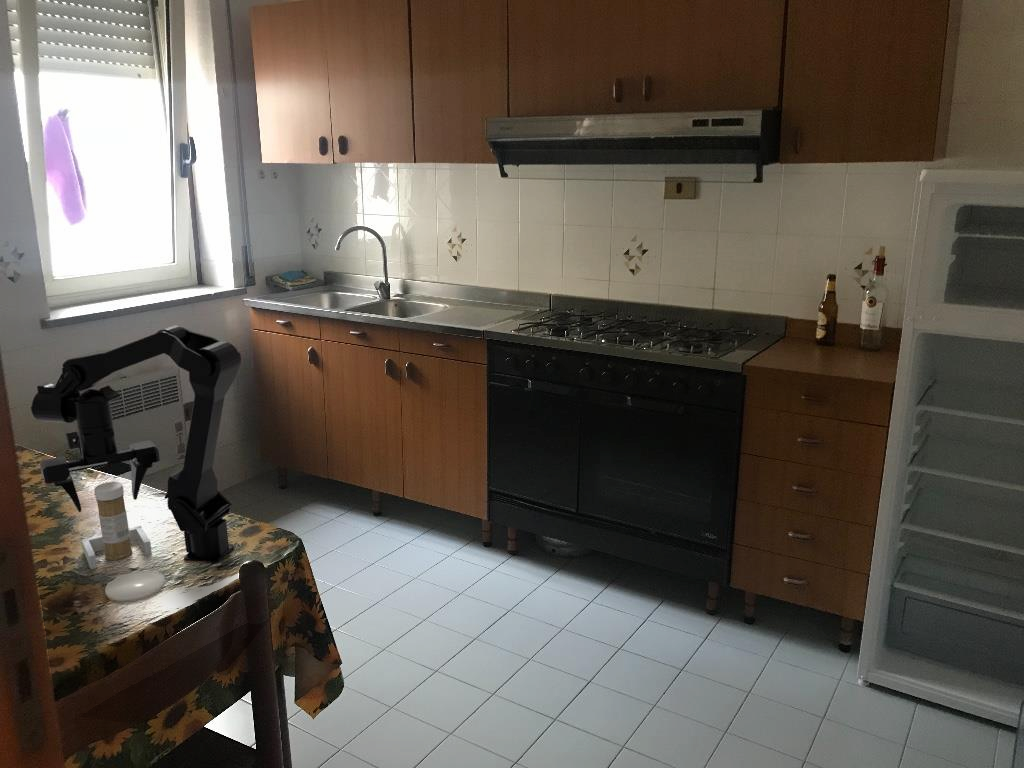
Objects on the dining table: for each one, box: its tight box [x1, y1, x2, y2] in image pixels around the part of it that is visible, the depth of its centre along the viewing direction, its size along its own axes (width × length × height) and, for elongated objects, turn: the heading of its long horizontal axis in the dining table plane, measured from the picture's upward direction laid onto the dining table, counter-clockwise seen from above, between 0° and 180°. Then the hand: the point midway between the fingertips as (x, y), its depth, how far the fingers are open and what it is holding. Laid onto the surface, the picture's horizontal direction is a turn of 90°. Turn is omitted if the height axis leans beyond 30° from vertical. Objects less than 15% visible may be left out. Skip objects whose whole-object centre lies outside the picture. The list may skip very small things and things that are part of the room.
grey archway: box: [81, 525, 153, 570], centre depth 149 cm, size 8×10×2 cm
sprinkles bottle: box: [93, 481, 133, 561], centre depth 147 cm, size 5×5×14 cm
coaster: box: [104, 570, 166, 603], centre depth 137 cm, size 9×9×1 cm
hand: (107, 505), depth 151 cm, fingers open, 9 cm apart
